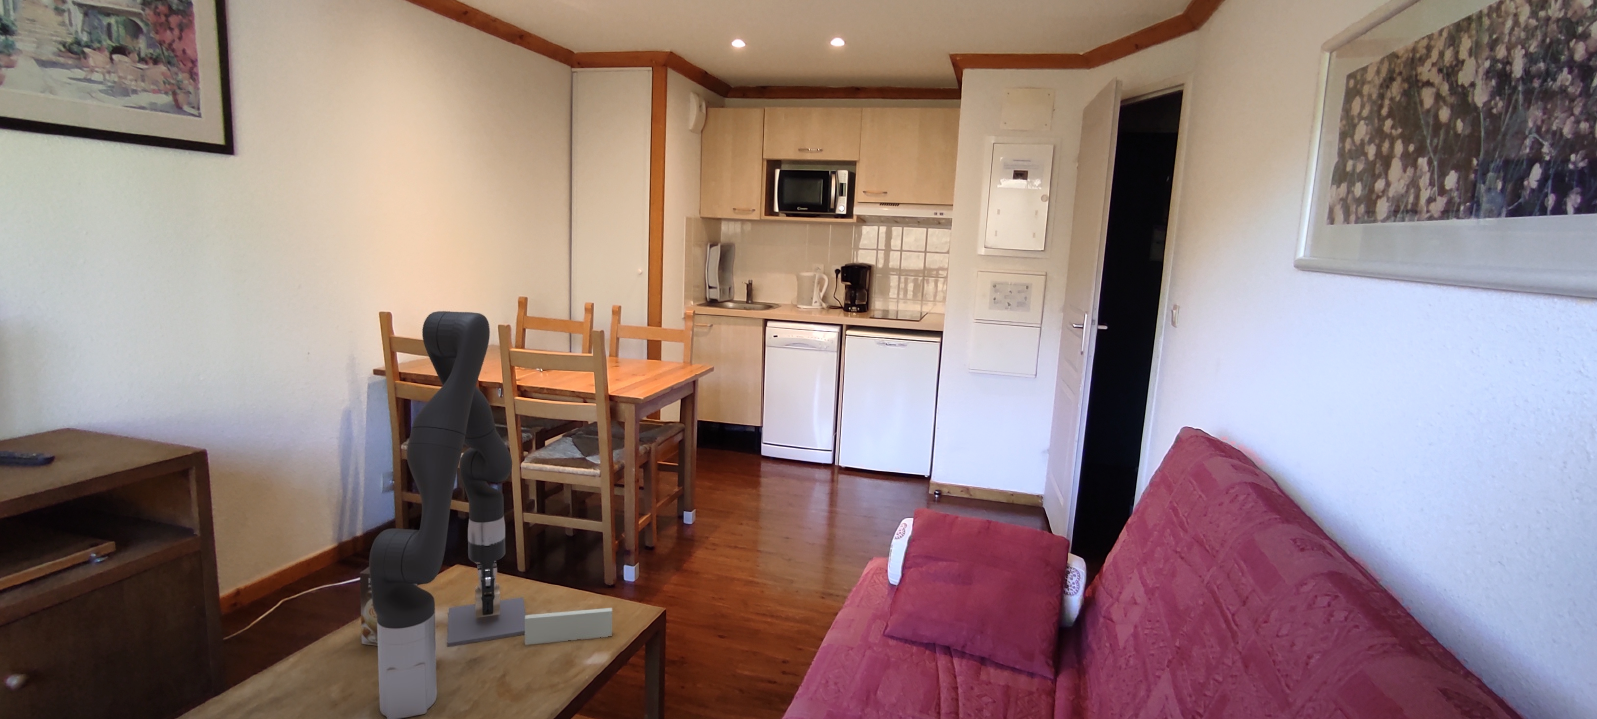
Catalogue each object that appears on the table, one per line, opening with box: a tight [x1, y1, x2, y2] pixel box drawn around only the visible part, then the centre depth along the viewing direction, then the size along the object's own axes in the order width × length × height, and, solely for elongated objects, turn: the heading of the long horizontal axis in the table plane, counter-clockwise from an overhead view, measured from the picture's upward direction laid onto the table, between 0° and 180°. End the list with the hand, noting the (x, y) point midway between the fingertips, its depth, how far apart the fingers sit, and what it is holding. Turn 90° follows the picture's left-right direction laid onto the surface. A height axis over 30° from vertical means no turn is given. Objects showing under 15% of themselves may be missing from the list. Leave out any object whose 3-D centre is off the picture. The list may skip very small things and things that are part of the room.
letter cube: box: [474, 582, 501, 618], centre depth 160 cm, size 5×5×5 cm
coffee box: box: [359, 566, 418, 647], centre depth 151 cm, size 9×6×16 cm
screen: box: [524, 607, 613, 646], centre depth 156 cm, size 2×18×6 cm, turn 107°
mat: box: [446, 597, 527, 648], centre depth 161 cm, size 16×16×1 cm
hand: (487, 607), depth 161 cm, fingers closed on letter cube, 5 cm apart
